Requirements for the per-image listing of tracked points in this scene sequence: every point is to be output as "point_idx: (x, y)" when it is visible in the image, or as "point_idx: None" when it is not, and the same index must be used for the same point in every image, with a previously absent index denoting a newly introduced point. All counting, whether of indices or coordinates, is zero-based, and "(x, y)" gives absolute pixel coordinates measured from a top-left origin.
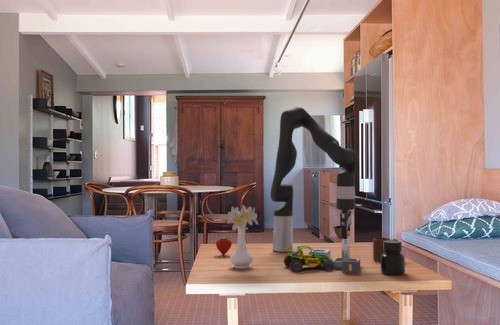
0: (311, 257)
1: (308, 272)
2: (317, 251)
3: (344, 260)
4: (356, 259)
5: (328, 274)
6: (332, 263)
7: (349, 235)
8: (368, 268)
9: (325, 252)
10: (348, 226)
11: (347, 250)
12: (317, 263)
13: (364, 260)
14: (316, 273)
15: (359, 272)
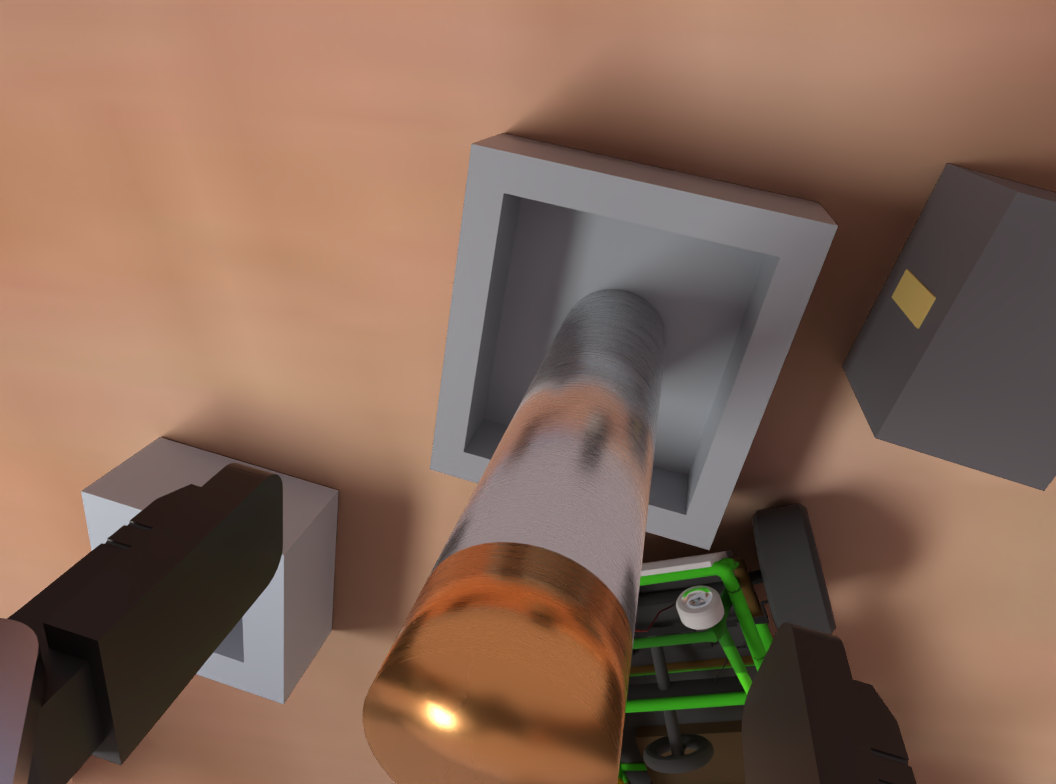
0: (662, 753)
1: (905, 715)
2: (250, 631)
3: (948, 449)
4: (504, 200)
5: (1047, 565)
6: (814, 547)
7: (557, 563)
8: (659, 6)
9: (282, 567)
10: (73, 697)
11: (651, 421)
12: (731, 668)
13: (102, 34)
14: (968, 662)
15: (1018, 182)
